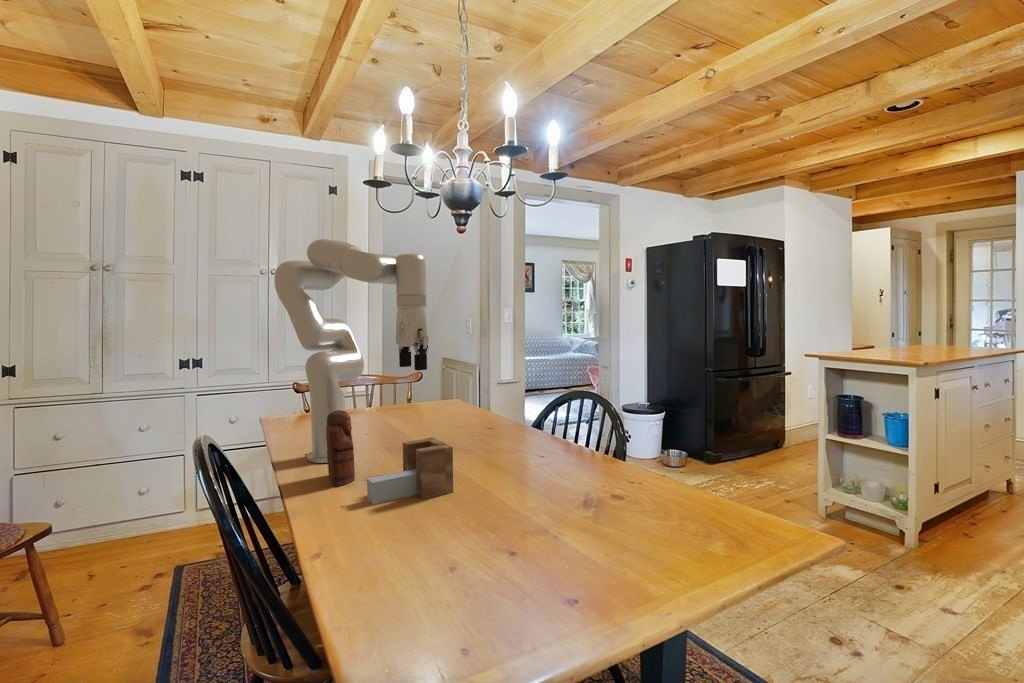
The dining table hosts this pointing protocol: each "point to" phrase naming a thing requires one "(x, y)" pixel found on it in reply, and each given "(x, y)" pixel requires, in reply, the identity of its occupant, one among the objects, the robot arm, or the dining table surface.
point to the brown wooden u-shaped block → (430, 466)
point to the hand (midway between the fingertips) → (412, 368)
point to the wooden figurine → (340, 448)
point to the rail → (392, 486)
